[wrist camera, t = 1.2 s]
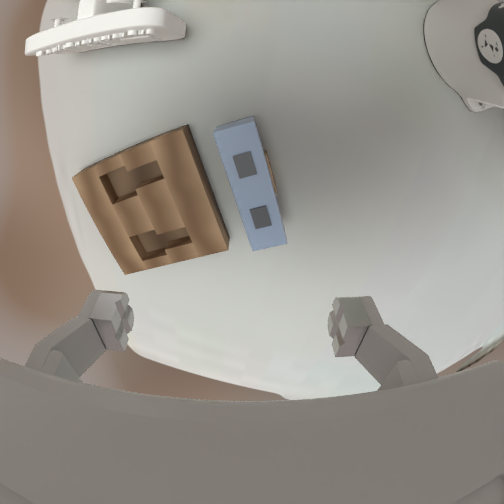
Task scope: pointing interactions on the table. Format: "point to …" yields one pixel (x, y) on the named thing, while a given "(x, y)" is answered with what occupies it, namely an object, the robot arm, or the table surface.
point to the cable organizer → (106, 28)
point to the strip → (251, 182)
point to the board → (154, 203)
